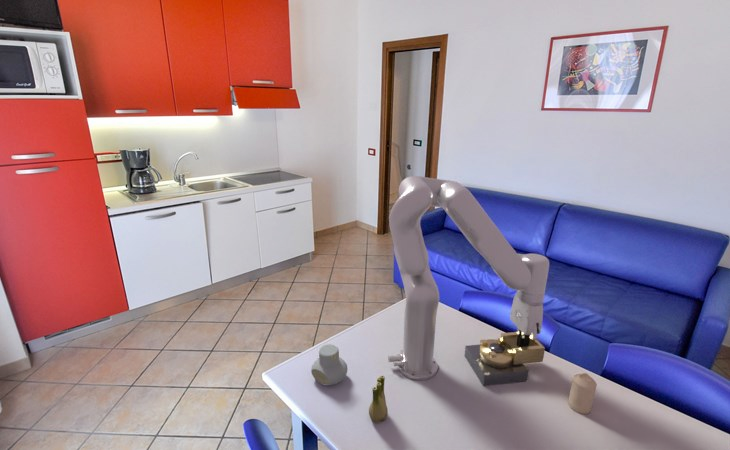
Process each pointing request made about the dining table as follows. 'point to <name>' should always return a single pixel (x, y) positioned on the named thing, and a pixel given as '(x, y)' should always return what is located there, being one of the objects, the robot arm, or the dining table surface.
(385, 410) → the fennel bulb
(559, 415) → the dining table surface
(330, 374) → the air freshener
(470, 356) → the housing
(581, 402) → the candle
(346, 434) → the dining table surface
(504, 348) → the brass mechanical fitting
